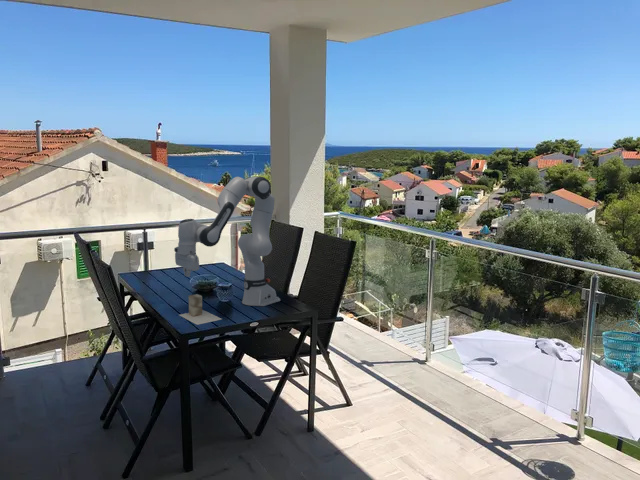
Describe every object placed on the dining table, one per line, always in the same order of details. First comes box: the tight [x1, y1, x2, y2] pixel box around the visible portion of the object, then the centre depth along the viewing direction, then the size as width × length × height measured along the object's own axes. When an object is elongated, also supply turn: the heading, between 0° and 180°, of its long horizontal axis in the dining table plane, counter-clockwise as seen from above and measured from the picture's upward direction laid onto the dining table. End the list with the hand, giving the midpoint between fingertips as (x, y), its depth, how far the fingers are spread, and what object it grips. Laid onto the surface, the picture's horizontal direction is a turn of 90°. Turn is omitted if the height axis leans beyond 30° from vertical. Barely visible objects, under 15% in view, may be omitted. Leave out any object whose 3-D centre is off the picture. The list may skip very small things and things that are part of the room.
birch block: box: [188, 293, 203, 317], centre depth 246 cm, size 5×5×10 cm
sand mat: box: [179, 309, 223, 326], centre depth 244 cm, size 14×20×1 cm
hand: (187, 276), depth 250 cm, fingers closed
